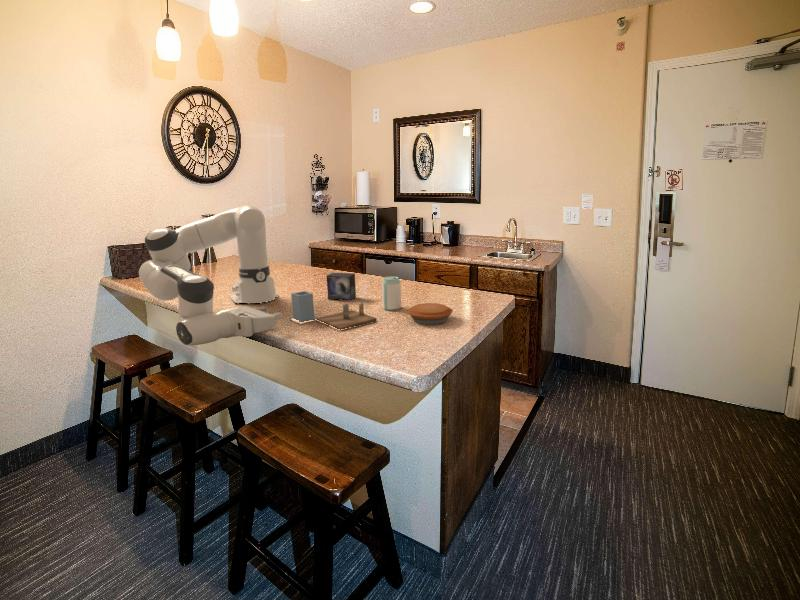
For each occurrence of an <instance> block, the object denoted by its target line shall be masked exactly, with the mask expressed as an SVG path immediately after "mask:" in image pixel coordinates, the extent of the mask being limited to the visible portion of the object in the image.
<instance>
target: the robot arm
mask: <svg viewBox="0 0 800 600" xmlns="http://www.w3.org/2000/svg"><path fill="white" fill-rule="evenodd" d="M234 239H236V240H237V250H238V251H237V252H238V262H239V268H238V276H239V277H238V279H237V280H236V281H235V283H234V286H232V287H231V289H232V290H231V291H232V293H233V294H230V295H229V298H230V300H231V301H232V300H233V301H234V302H235V303H260V302H266V301H270V300H273V299H274V298H275V297H277V296H279V297H280V295H279V293H277V292H276V287H275V281H274V278H273V277H271V276H270V275H271V270H270V266H269V262H268V255H267V254H268V253H267V252H268V251H267V231H266V218H265V215H264V213H263V212H262V210H261V209H259V208H257V207H255V206H252V205H248V204H247V205H242V206H238V207H236V208H233V209H230V210H227V211H224V212H221V213H218V214H216V215H211V216H209V217H205V218H203V219H200V220H196V221H192V222H190V223H187V224H185V225H182V226H180V227H178V228H176V229H172V228H167V227H159V228H155V229H153V230H151V231H149V232H148V233H147V234H146V236H145V238H144V244H145V247H146V250H148V252H149V256H150V257H151V259H150V260H149V259H148V260H146V261H145V262H143V263H142V264H141V265H140V267H139V270H138V277H139V279H140V281H141V284H142V285H143V287H144V288H145V289H146V290H147V292H148V293H149V294H150V295H151V296H152V297H154V298H155V299H157V300H159V301H164V302H166V301H167V302H169V301H172V300H175V299H177V298H178V322H177V323H176V326H175V332H176V336H177V338H178V339H179V341H180V342H181V343H182V344H183V345H185V346H198V345H199V346H200V345H204V344H205V345H206V344H209V343H212V342H213V343H214V342H216V341H218V340H221V339H227V338H228V339H230V338H233V337H234V338H235V337H243V338H244V337H245V338H248V337H252V336H254V335H253V334H259V333H262V332H265V331H268V330H272V329H273V328H274V329H275V327H277V326H276V325H277V321H278V320H281V319H282V318H283V313H282V312H279V311H278V312H275V313H273V314H272V313H271V314H270V313H268V308H267V307H254V308H253V307H252V306H251V307H250V306H248V305H241V306H234V307H231V308H230V307H229V308H226V309H221V310H218V311H216V312H214V309H213V308H214V305H213V304H214V291H215V285H214V283H213V281H211V280H210V279H209V278H208V277H206V276H204V275H201V274H197V273H195V272H194V270H193V266H192V264H191V262H190V261H191V260H190V259H189V257H188V255H187V254H193V253H196V252H200V251H204V250H208V249H210V248H213V247H216V246H219V245H222V244H225V243H228V242H229V241H232V240H234ZM277 298H278V297H277ZM275 299H276V298H275ZM233 301H232V302H233ZM273 301H274V300H273ZM234 302H233V303H234ZM270 302H271V301H270ZM235 303H234V304H235ZM266 303H267V302H266ZM260 304H261V303H260Z"/></svg>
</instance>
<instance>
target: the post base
mask: <svg viewBox="0 0 800 600" xmlns="http://www.w3.org/2000/svg"><path fill="white" fill-rule="evenodd" d="M349 306H350V305H349V303H343V304H342V312H338V313H333V314H329V315H328V314H327V315H325V316H321V317H320V316H319V317H317V318H316V319H317V320H319V321H321V322H324V323H326V324H328V325H331V326H333V327H335V328H337V329H340V330H341V329H345V328H349V327H354V326H358V327H360V326H359V325H362V326H364V325H363V324H366V325H368V324H367V323H370V324H372V323H371V322H373V323H376V321H377V320H378V319H377V317H374V316H371V315H368V314H366V313H364V311H365V309H364V307H365V306H364V303H362V302H360V303H358V311H356V310H353V309H351V310H350V309H349V308H350V307H349ZM377 322H378V321H377ZM354 328H355V327H354Z"/></svg>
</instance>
